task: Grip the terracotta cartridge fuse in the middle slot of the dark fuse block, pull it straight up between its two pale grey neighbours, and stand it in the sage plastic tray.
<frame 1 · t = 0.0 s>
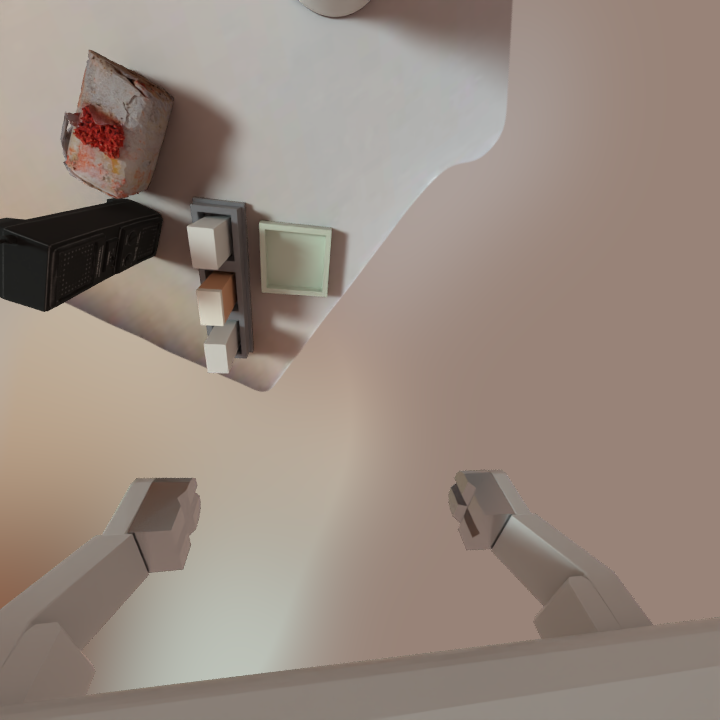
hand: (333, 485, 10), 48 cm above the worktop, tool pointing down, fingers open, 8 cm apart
food item: (135, 135, 43), on the worktop
tray: (296, 258, 53), on the worktop
portable radio: (139, 230, 48), on the worktop
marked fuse: (226, 285, 53), point 1 cm above the worktop, touching fuse block
fuse block: (227, 283, 54), on the worktop
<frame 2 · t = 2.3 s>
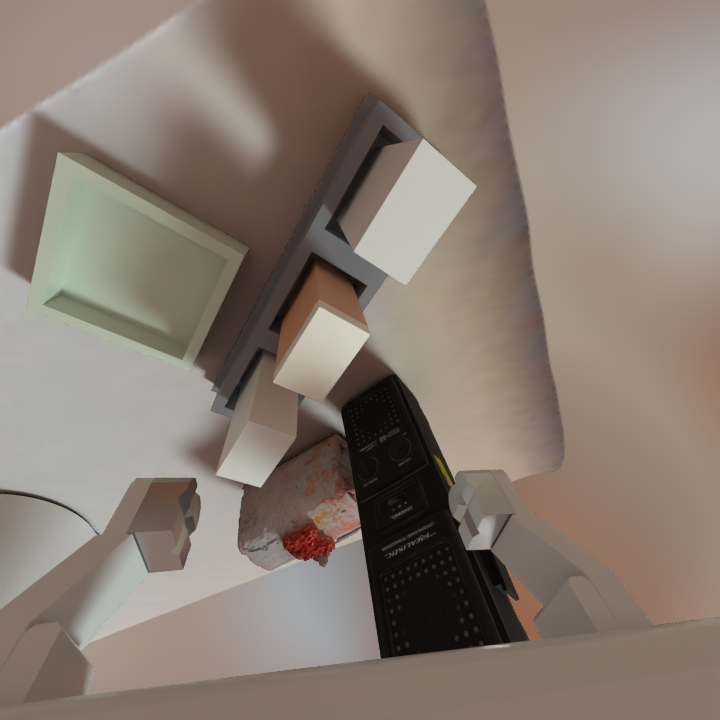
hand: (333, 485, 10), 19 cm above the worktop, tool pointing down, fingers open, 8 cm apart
food item: (308, 467, 37), on the worktop
tray: (150, 271, 24), on the worktop
portable radio: (383, 401, 34), on the worktop
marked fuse: (316, 293, 25), point 1 cm above the worktop, touching fuse block
fuse block: (315, 289, 26), on the worktop
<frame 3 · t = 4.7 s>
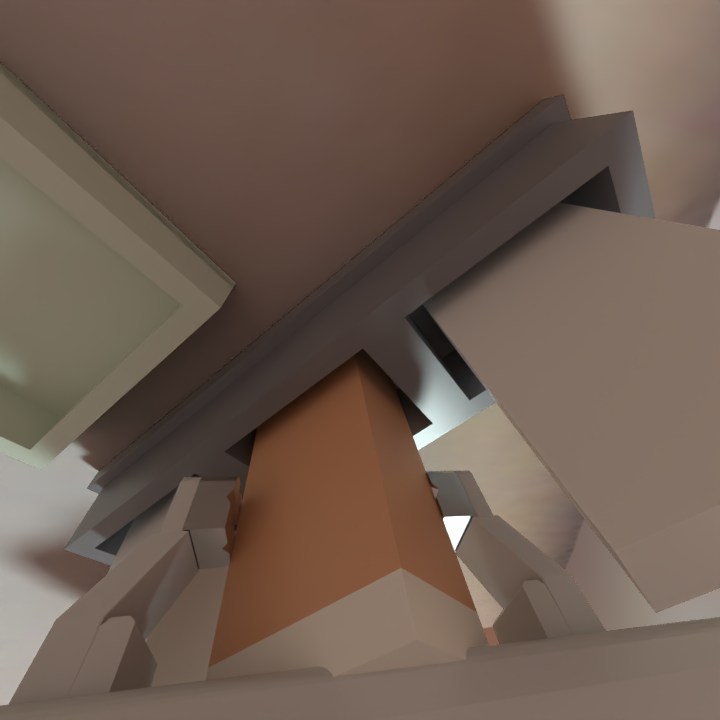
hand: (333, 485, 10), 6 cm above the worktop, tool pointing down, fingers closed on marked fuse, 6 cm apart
tray: (10, 265, 11), on the worktop
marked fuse: (327, 389, 15), point 1 cm above the worktop, touching fuse block, gripper
fuse block: (326, 376, 15), on the worktop
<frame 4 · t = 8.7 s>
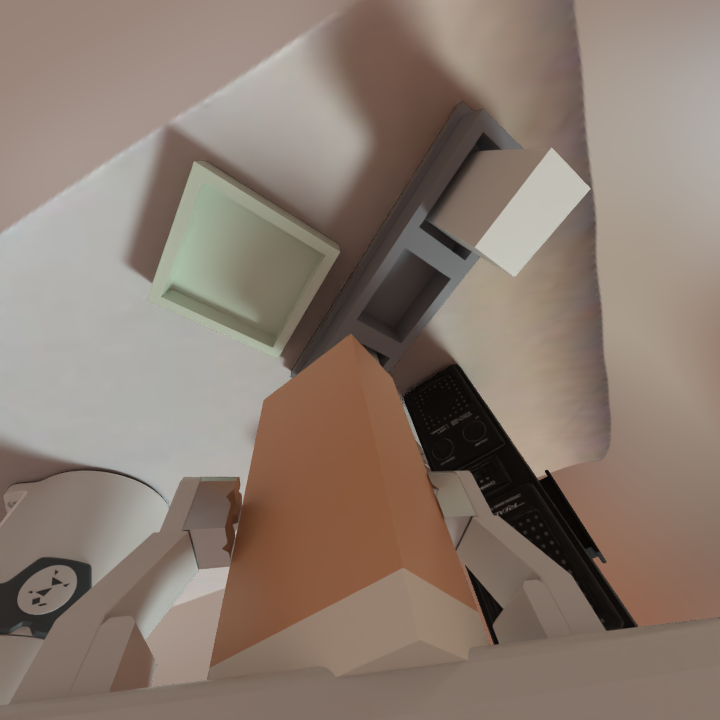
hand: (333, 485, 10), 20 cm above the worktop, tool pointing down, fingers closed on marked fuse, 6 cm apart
tray: (248, 266, 26), on the worktop
portable radio: (442, 389, 36), on the worktop
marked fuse: (328, 389, 15), point 15 cm above the worktop, touching gripper
fuse block: (392, 282, 28), on the worktop
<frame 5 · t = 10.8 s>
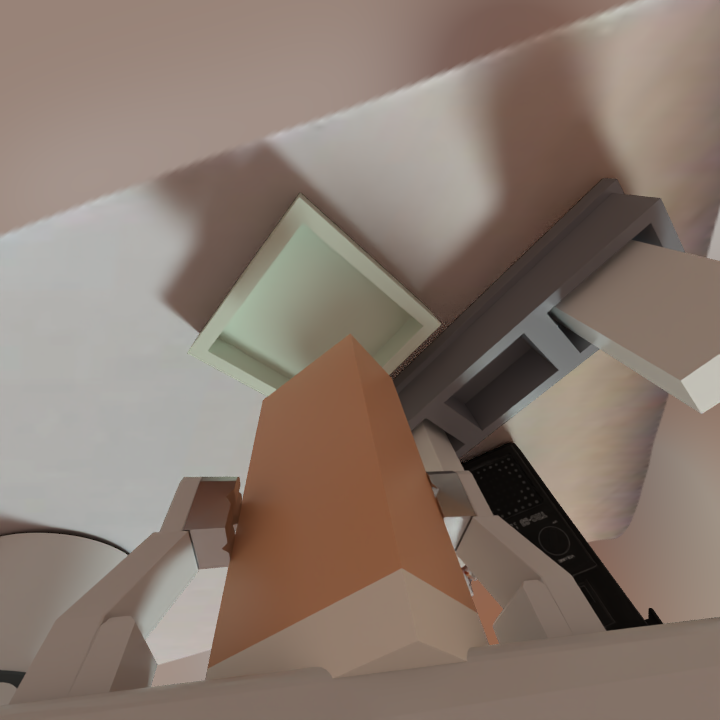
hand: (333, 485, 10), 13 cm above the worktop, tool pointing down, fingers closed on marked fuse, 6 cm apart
tray: (317, 320, 21), on the worktop
portable radio: (489, 465, 32), on the worktop
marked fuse: (327, 389, 15), point 8 cm above the worktop, touching gripper
fuse block: (474, 355, 24), on the worktop
when the fingers open (7 cm above the worktop, at t = 12.7 s): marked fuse drops 2 cm, resting on tray.
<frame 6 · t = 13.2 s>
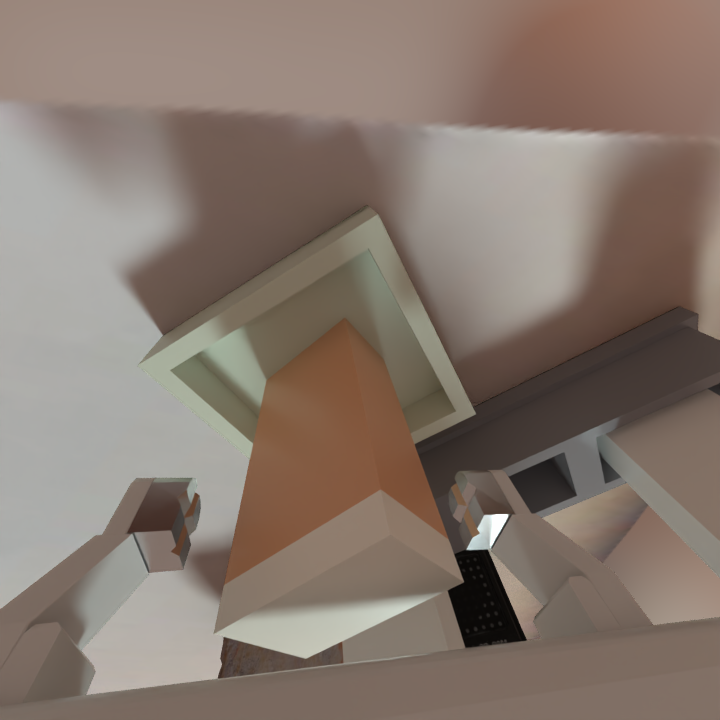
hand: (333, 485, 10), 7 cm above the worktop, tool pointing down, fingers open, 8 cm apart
food item: (314, 594, 29), on the worktop
tray: (326, 363, 16), on the worktop
portable radio: (447, 555, 29), on the worktop
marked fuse: (325, 369, 16), point 1 cm above the worktop, touching tray
fuse block: (482, 445, 21), on the worktop
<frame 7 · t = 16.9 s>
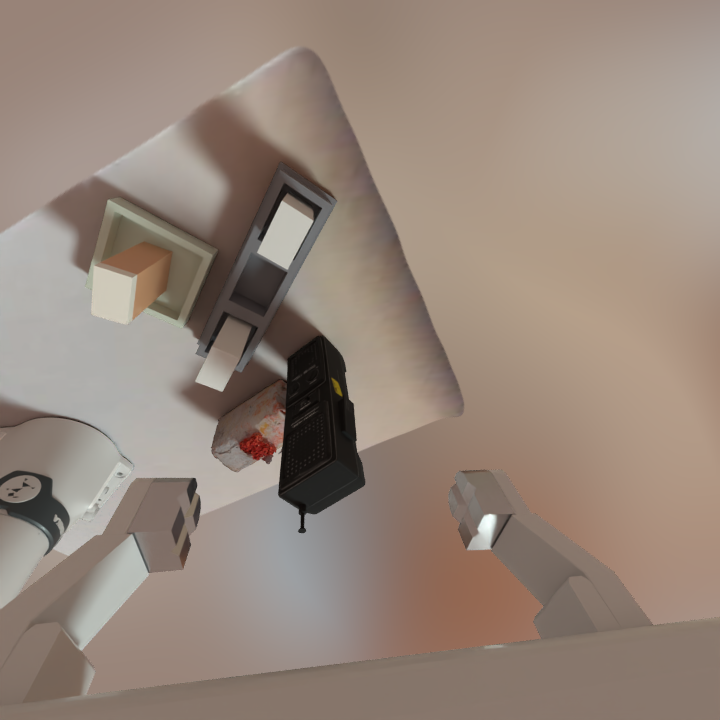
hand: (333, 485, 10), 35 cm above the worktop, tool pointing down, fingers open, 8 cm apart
food item: (265, 407, 52), on the worktop
tray: (157, 265, 39), on the worktop
portable radio: (318, 356, 48), on the worktop
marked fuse: (155, 266, 38), point 1 cm above the worktop, touching tray
fuse block: (262, 276, 41), on the worktop
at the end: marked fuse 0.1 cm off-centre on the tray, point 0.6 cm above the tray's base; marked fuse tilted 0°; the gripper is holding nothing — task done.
